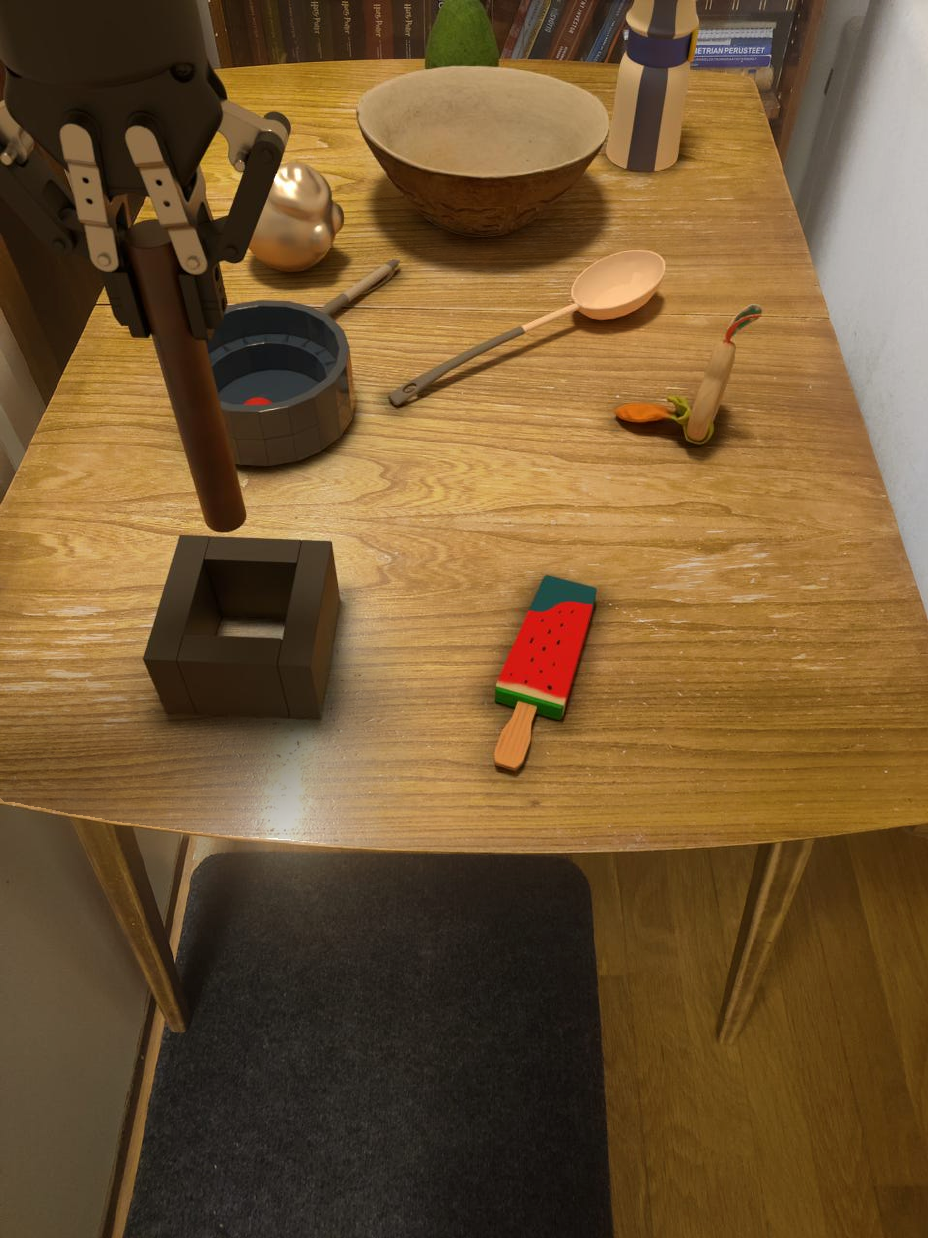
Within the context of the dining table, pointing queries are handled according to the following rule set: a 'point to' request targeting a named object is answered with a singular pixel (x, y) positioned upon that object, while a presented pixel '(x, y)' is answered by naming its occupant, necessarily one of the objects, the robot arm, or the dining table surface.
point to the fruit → (461, 37)
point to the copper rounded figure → (297, 220)
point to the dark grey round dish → (281, 380)
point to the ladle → (574, 305)
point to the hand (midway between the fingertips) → (176, 327)
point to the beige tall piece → (709, 393)
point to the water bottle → (653, 84)
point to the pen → (361, 287)
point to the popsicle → (542, 663)
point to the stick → (186, 376)
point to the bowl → (482, 143)
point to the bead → (257, 401)
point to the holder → (245, 666)
